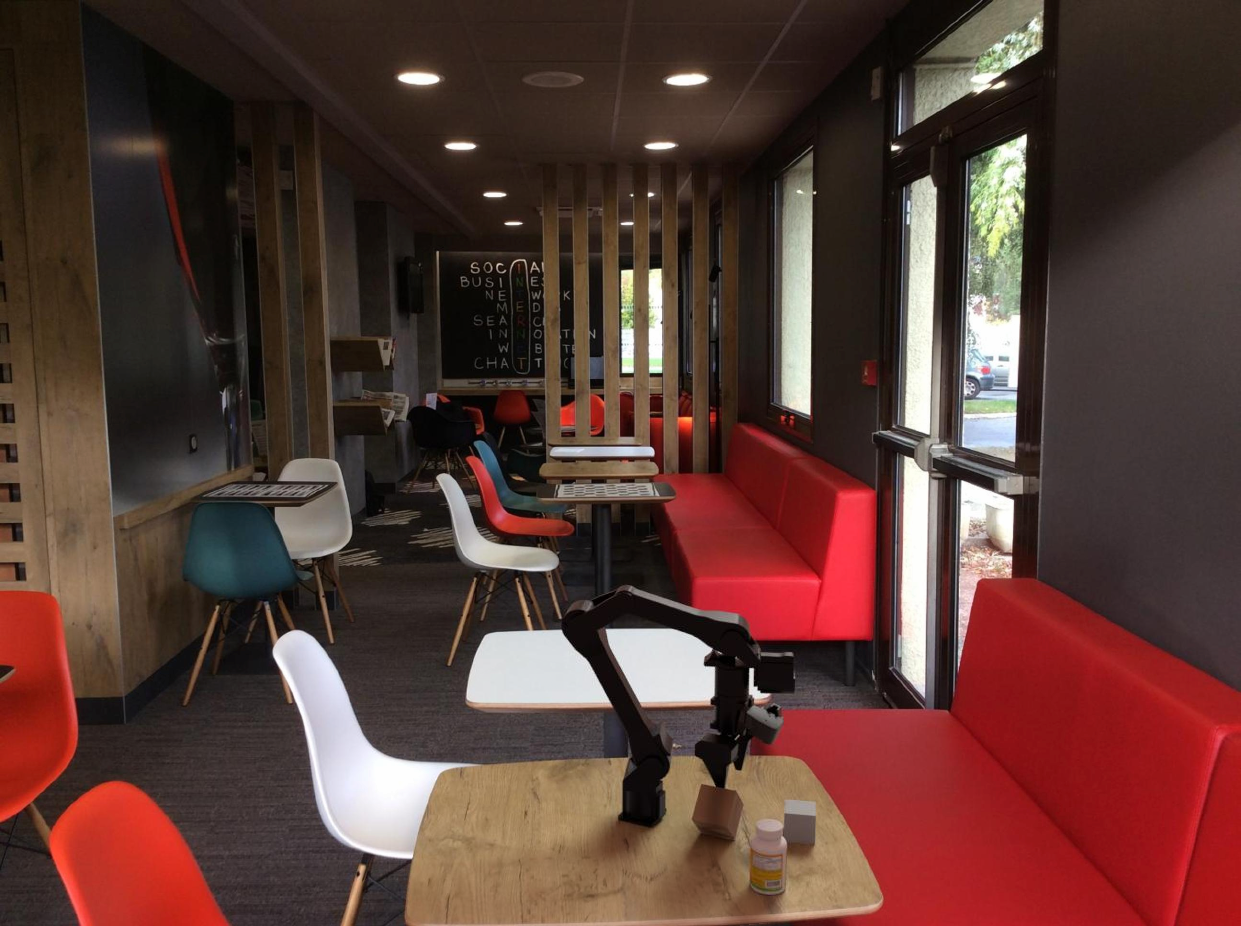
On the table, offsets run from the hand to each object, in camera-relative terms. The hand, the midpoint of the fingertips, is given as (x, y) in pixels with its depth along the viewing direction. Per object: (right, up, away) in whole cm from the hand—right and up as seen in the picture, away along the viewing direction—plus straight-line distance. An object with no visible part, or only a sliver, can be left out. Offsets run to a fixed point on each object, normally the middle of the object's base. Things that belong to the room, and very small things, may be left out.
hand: (730, 780), depth 175 cm
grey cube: (+11, -8, -4) cm, 14 cm away
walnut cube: (-2, -6, -3) cm, 6 cm away
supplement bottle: (+4, -10, -19) cm, 22 cm away
